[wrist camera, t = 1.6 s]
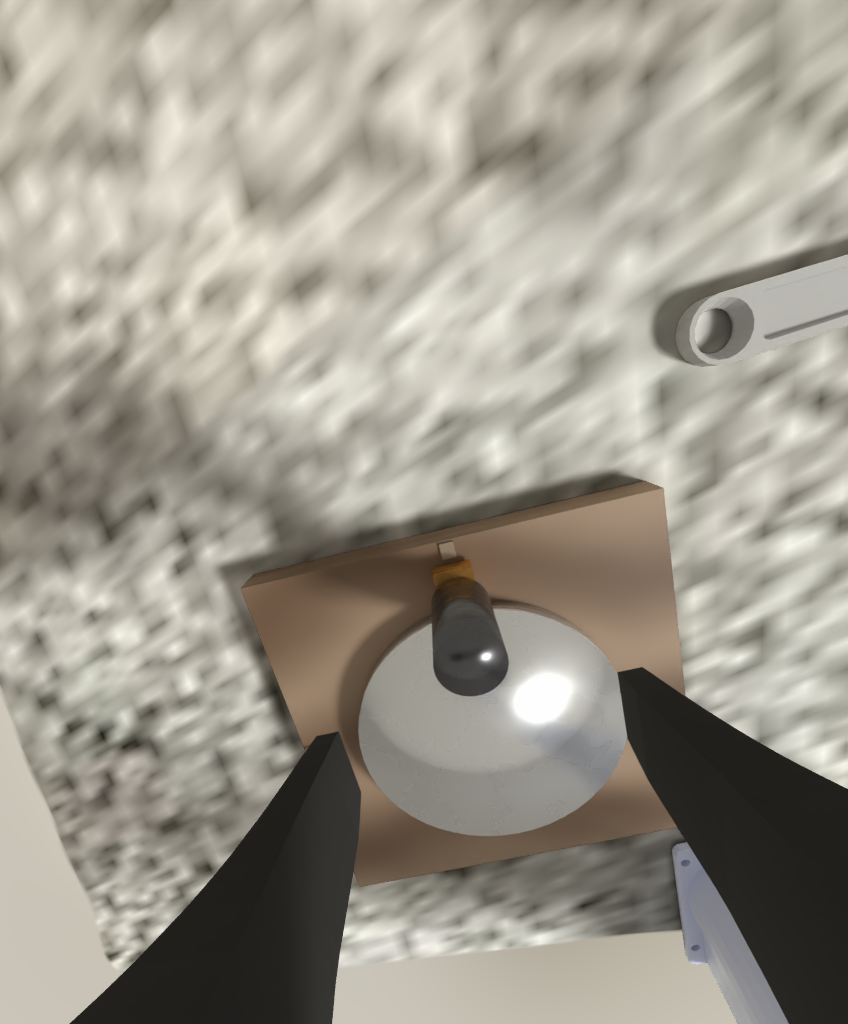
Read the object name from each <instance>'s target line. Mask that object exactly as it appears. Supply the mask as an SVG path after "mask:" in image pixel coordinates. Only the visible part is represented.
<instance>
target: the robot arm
mask: <svg viewBox="0 0 848 1024" xmlns="http://www.w3.org/2000/svg"><path fill="white" fill-rule="evenodd" d="M617 673H618V680H619V686H620V693H621V699H622V706H623V712H624V719H625V726H626V732H627V739H628V741H629V743H630V745H631V747H632V749H633V751H634V753H635V755H636V757H637V759H638V761H639V763H640V765H641V767H642V769H643V771H644V773H645V775H646V777H647V779H648V781H649V783H650V784H651V786H652V788H653V789H654V791H655V792H656V794H657V796H658V797H659V799H660V800H661V802H662V804H663V805H664V807H665V808H666V810H667V812H668V813H669V815H670V816H671V818H672V820H673V821H674V823H675V824H676V826H677V828H678V829H679V831H680V832H681V834H682V835H683V837H684V839H685V840H686V842H685V843H680V844H677V845H675V846H674V847H673V849H672V855H673V863H674V871H675V878H676V886H677V894H678V901H679V909H680V916H681V924H682V932H683V939H684V947H685V954H686V956H687V958H688V960H689V962H690V963H692V964H702V963H708V965H709V967H710V969H711V971H712V973H713V975H714V977H715V979H716V981H717V983H718V985H719V987H720V989H721V991H722V993H723V995H724V997H725V999H726V1001H727V1003H728V1005H729V1007H730V1009H731V1011H732V1013H733V1015H734V1017H735V1019H736V1021H737V1023H738V1024H848V789H847V788H844V787H842V786H840V785H838V784H836V783H834V782H832V781H830V780H828V779H826V778H824V777H822V776H820V775H818V774H816V773H814V772H812V771H811V770H809V769H807V768H805V767H803V766H801V765H799V764H797V763H795V762H793V761H791V760H789V759H787V758H786V757H784V756H782V755H780V754H778V753H776V752H775V751H773V750H771V749H769V748H768V747H766V746H764V745H762V744H761V743H759V742H757V741H756V740H754V739H752V738H750V737H749V736H747V735H745V734H744V733H742V732H740V731H739V730H737V729H735V728H734V727H732V726H731V725H729V724H727V723H726V722H724V721H723V720H721V719H720V718H718V717H716V716H715V715H713V714H712V713H710V712H708V711H707V710H705V709H704V708H702V707H701V706H699V705H698V704H696V703H695V702H693V701H692V700H690V699H689V698H687V697H686V696H684V695H683V694H681V693H680V692H678V691H677V690H675V689H674V688H672V687H671V686H670V685H668V684H667V683H665V682H664V681H662V680H661V679H659V678H658V677H656V676H655V675H654V674H652V673H651V672H649V671H648V670H646V669H645V668H643V667H640V668H635V669H630V670H625V671H621V672H617ZM360 809H361V790H360V788H359V785H358V782H357V779H356V777H355V774H354V771H353V769H352V766H351V763H350V760H349V758H348V755H347V752H346V750H345V747H344V744H343V741H342V739H341V736H340V733H339V731H338V732H334V733H329V734H324V735H319V736H316V737H315V739H314V740H313V742H312V743H311V744H310V746H309V747H308V749H307V750H306V752H305V753H304V755H303V756H302V758H301V759H300V760H299V762H298V763H297V765H296V766H295V768H294V769H293V771H292V772H291V774H290V775H289V777H288V778H287V779H286V781H285V782H284V784H283V785H282V787H281V788H280V790H279V791H278V792H277V794H276V795H275V797H274V798H273V799H272V801H271V802H270V804H269V805H268V807H267V808H266V809H265V811H264V812H263V814H262V815H261V816H260V818H259V819H258V820H257V821H256V823H255V824H254V825H253V827H252V828H251V829H250V831H249V832H248V833H247V835H246V836H245V837H244V839H243V840H242V841H241V843H240V844H239V845H238V846H237V848H236V849H235V850H234V852H233V853H232V854H231V856H230V857H229V858H228V859H227V861H226V862H225V863H224V864H223V866H222V867H221V868H220V869H219V870H218V872H217V873H216V874H215V875H214V876H213V878H212V879H211V880H210V881H209V882H208V883H207V885H206V886H205V887H204V888H203V889H202V890H201V891H200V893H199V894H198V895H197V896H196V897H195V898H194V899H193V901H192V902H191V903H190V904H189V905H188V906H187V907H186V908H185V910H184V911H183V912H182V913H181V914H180V915H179V916H178V917H177V918H176V919H175V920H174V921H173V922H172V923H171V924H170V925H169V927H168V928H167V929H166V930H165V931H164V932H163V933H162V934H161V935H160V936H159V937H158V938H157V939H156V940H155V941H154V942H153V943H152V944H151V945H150V946H149V947H148V948H147V950H146V951H145V952H144V953H143V954H142V955H141V956H140V957H139V958H138V959H137V960H136V961H135V962H134V963H133V964H132V965H131V966H130V967H129V968H128V969H127V970H126V971H125V972H124V973H123V974H122V975H121V976H120V977H119V978H118V979H117V980H116V981H115V982H114V983H112V984H111V985H110V986H109V987H108V988H107V989H106V990H105V991H104V992H103V993H102V994H101V995H100V996H99V997H98V998H97V999H96V1000H95V1001H94V1002H92V1003H91V1004H90V1005H89V1006H88V1007H87V1008H86V1009H85V1010H84V1011H83V1012H82V1013H81V1014H80V1015H78V1016H77V1017H76V1018H75V1019H74V1020H73V1021H72V1022H71V1023H70V1024H332V1017H333V1006H334V995H335V984H336V976H337V969H338V962H339V954H340V948H341V942H342V936H343V930H344V924H345V918H346V912H347V907H348V901H349V895H350V889H351V883H352V877H353V871H354V865H355V858H356V852H357V846H358V839H359V826H360Z"/></svg>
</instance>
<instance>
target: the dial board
mask: <svg viewBox="0 0 848 1024" xmlns="http://www.w3.org/2000/svg"><path fill="white" fill-rule="evenodd" d="M469 559H470V562H471V566H472V570H473V574H474V578H475V581H477V582H478V583H480V584H481V585H482V586H483V587H484V588H485V589H486V591H487V593H488V595H489V598H490V601H497V600H498V601H512V602H519V603H524V604H529V605H534V606H537V607H540V608H543V609H546V610H549V611H551V612H554V613H556V614H558V615H560V616H562V617H564V618H566V619H567V620H569V621H570V622H572V623H573V624H575V625H576V626H578V627H579V628H580V629H582V630H583V631H584V632H585V633H586V634H587V635H588V636H590V637H591V638H592V640H593V641H594V642H595V643H596V644H597V645H598V647H599V648H600V649H601V650H602V652H603V653H604V655H605V656H606V657H607V659H608V660H609V662H610V663H611V665H612V667H613V668H614V670H615V671H616V673H617V672H621V671H625V670H630V669H635V668H640V667H643V668H645V669H646V670H648V671H649V672H651V673H652V674H654V675H655V676H656V677H658V678H659V679H661V680H662V681H664V682H665V683H667V684H668V685H670V686H671V687H672V688H674V689H675V690H677V691H678V692H680V693H681V694H683V695H684V696H685V687H684V678H683V668H682V659H681V649H680V640H679V630H678V621H677V612H676V602H675V593H674V583H673V574H672V564H671V555H670V545H669V536H668V527H667V517H666V508H665V498H664V489H663V488H662V487H659V486H657V485H654V484H652V483H649V482H647V481H642V482H638V483H633V484H629V485H625V486H621V487H617V488H613V489H608V490H604V491H600V492H596V493H592V494H588V495H583V496H579V497H575V498H571V499H567V500H563V501H558V502H554V503H550V504H546V505H542V506H538V507H533V508H529V509H525V510H521V511H517V512H513V513H508V514H504V515H500V516H496V517H492V518H488V519H484V520H479V521H475V522H471V523H467V524H463V525H459V526H454V527H450V528H446V529H442V530H438V531H434V532H429V533H425V534H421V535H417V536H413V537H409V538H404V539H400V540H396V541H392V542H388V543H384V544H379V545H375V546H371V547H367V548H363V549H359V550H354V551H350V552H346V553H342V554H338V555H334V556H329V557H325V558H321V559H317V560H313V561H309V562H304V563H300V564H296V565H292V566H288V567H284V568H279V569H275V570H271V571H267V572H263V573H259V574H254V575H253V576H252V577H251V578H250V579H249V580H248V581H247V583H246V584H245V585H244V586H243V587H242V588H241V591H242V594H243V596H244V599H245V601H246V604H247V606H248V609H249V611H250V614H251V616H252V619H253V621H254V624H255V626H256V629H257V631H258V634H259V636H260V639H261V641H262V644H263V646H264V649H265V651H266V654H267V656H268V659H269V661H270V664H271V666H272V669H273V671H274V674H275V676H276V679H277V681H278V684H279V686H280V689H281V691H282V694H283V696H284V699H285V701H286V704H287V706H288V709H289V711H290V714H291V716H292V719H293V721H294V724H295V726H296V729H297V731H298V734H299V736H300V739H301V741H302V744H303V746H304V749H305V752H306V750H307V749H308V747H309V746H310V744H311V743H312V742H313V740H314V739H315V737H316V736H319V735H324V734H329V733H334V732H338V731H339V733H340V736H341V739H342V741H343V744H344V747H345V750H346V752H347V755H348V758H349V760H350V763H351V766H352V769H353V771H354V774H355V777H356V779H357V782H358V785H359V788H360V790H361V809H360V826H359V839H358V846H357V852H356V858H355V865H354V874H355V876H356V879H357V881H358V884H359V886H360V887H362V886H367V885H373V884H378V883H383V882H389V881H394V880H399V879H405V878H410V877H415V876H421V875H426V874H431V873H437V872H442V871H447V870H453V869H458V868H463V867H469V866H474V865H479V864H485V863H490V862H495V861H501V860H506V859H511V858H517V857H522V856H527V855H533V854H538V853H543V852H549V851H554V850H559V849H565V848H570V847H575V846H581V845H586V844H591V843H597V842H602V841H607V840H613V839H618V838H623V837H629V836H634V835H640V834H645V833H650V832H656V831H661V830H666V829H672V828H677V826H676V824H675V823H674V821H673V820H672V818H671V816H670V815H669V813H668V812H667V810H666V808H665V807H664V805H663V804H662V802H661V800H660V799H659V797H658V796H657V794H656V792H655V791H654V789H653V788H652V786H651V784H650V783H649V781H648V779H647V777H646V775H645V773H644V771H643V769H642V767H641V765H640V763H639V761H638V759H637V757H636V755H635V753H634V751H633V749H632V747H631V745H630V743H629V741H628V739H626V743H625V747H624V751H623V753H622V755H621V758H620V760H619V763H618V764H617V766H616V768H615V770H614V771H613V773H612V775H611V776H610V778H609V779H608V780H607V781H606V783H605V784H604V785H603V786H602V788H601V789H600V790H599V791H598V792H597V793H596V794H595V795H594V796H593V797H592V798H591V799H590V800H588V801H587V802H586V803H584V804H583V805H582V806H581V807H579V808H578V809H577V810H575V811H573V812H572V813H570V814H568V815H567V816H565V817H563V818H561V819H559V820H557V821H555V822H553V823H551V824H548V825H545V826H543V827H540V828H537V829H534V830H530V831H526V832H522V833H517V834H510V835H502V836H475V835H466V834H459V833H454V832H450V831H446V830H443V829H439V828H436V827H434V826H431V825H429V824H426V823H424V822H422V821H420V820H418V819H416V818H414V817H412V816H411V815H409V814H408V813H406V812H405V811H403V810H402V809H400V808H399V807H398V806H397V805H395V804H394V803H393V802H392V801H391V800H390V799H389V798H388V797H387V796H386V795H385V794H384V793H383V792H382V791H381V789H380V788H379V787H378V786H377V784H376V783H375V781H374V780H373V778H372V776H371V775H370V773H369V771H368V769H367V766H366V764H365V762H364V759H363V756H362V752H361V749H360V743H359V734H358V728H359V715H360V710H361V705H362V700H363V695H364V690H365V686H366V683H367V681H368V678H369V675H370V673H371V671H372V669H373V667H374V666H375V664H376V662H377V660H378V659H379V657H380V656H381V655H382V654H383V652H384V651H385V650H386V648H387V647H388V646H389V645H390V644H391V643H392V642H393V641H394V640H395V639H396V638H397V637H398V636H399V635H400V634H402V633H403V632H404V631H405V630H407V629H408V628H409V627H411V626H412V625H414V624H415V623H417V622H419V621H420V620H422V619H424V618H426V617H427V616H430V615H431V600H432V597H433V594H434V592H435V591H436V587H435V583H434V579H433V573H432V568H435V567H439V566H444V565H448V564H452V563H456V562H461V561H465V560H469ZM617 675H618V673H617Z"/></svg>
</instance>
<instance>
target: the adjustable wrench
mask: <svg viewBox="0 0 848 1024" xmlns="http://www.w3.org/2000/svg"><path fill="white" fill-rule="evenodd" d="M715 308H719V309H723V310H724V311H726V312H727V314H728V315H729V316H730V319H731V322H732V333H731V336H730V339H729V341H728V343H727V344H726V346H725V347H724V348H723V349H722V350H720V351H718V352H716V353H710V354H707V353H702V352H701V351H700V350H699V349H698V347H697V344H696V341H695V327H696V324H697V320H698V318H699V316H700V315H701V314H702V313H703V312H705V311H707V310H709V309H715ZM845 326H848V254H847V255H844V256H841V257H837V258H834V259H831V260H827V261H824V262H821V263H817V264H814V265H811V266H807V267H804V268H801V269H797V270H794V271H791V272H787V273H784V274H781V275H777V276H774V277H770V278H767V279H764V280H760V281H757V282H754V283H750V284H747V285H744V286H740V287H737V288H734V289H730V290H727V291H724V292H720V293H717V294H714V295H711V296H708V297H705V298H703V299H701V300H699V301H697V302H695V303H693V304H692V305H691V306H690V307H689V308H688V309H687V310H686V311H685V312H684V313H683V315H682V317H681V318H680V320H679V322H678V325H677V328H676V332H675V343H676V346H677V349H678V352H679V354H680V355H681V356H682V358H683V359H684V360H685V361H687V362H689V363H690V364H692V365H696V366H702V367H703V366H715V365H723V364H729V363H732V362H735V361H738V360H741V359H745V358H748V357H751V356H754V355H757V354H760V353H763V352H767V351H770V350H773V349H776V348H779V347H782V346H785V345H788V344H792V343H795V342H798V341H801V340H804V339H807V338H810V337H814V336H817V335H820V334H823V333H826V332H829V331H832V330H835V329H839V328H842V327H845Z"/></svg>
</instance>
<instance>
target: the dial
mask: <svg viewBox="0 0 848 1024" xmlns="http://www.w3.org/2000/svg"><path fill="white" fill-rule="evenodd" d="M432 573H433V579H434V583H435V587H436V591H435V592H434V594H433V597H432V600H431V615H430V616H427V617H426V618H424V619H422V620H420V621H419V622H417V623H415V624H414V625H412V626H411V627H409V628H408V629H407V630H405V631H404V632H403V633H402V634H400V635H399V636H398V637H397V638H396V639H395V640H394V641H393V642H392V643H391V644H390V645H389V646H388V647H387V648H386V650H385V651H384V652H383V654H382V655H381V656H380V657H379V659H378V660H377V662H376V664H375V666H374V667H373V669H372V671H371V673H370V675H369V678H368V681H367V683H366V686H365V690H364V695H363V700H362V705H361V710H360V715H359V728H358V734H359V743H360V749H361V752H362V756H363V759H364V762H365V764H366V766H367V769H368V771H369V773H370V775H371V776H372V778H373V780H374V781H375V783H376V784H377V786H378V787H379V788H380V789H381V791H382V792H383V793H384V794H385V795H386V796H387V797H388V798H389V799H390V800H391V801H392V802H393V803H394V804H395V805H397V806H398V807H399V808H400V809H402V810H403V811H405V812H406V813H408V814H409V815H411V816H412V817H414V818H416V819H418V820H420V821H422V822H424V823H426V824H429V825H431V826H434V827H436V828H439V829H443V830H446V831H450V832H454V833H459V834H466V835H475V836H502V835H510V834H517V833H522V832H526V831H530V830H534V829H537V828H540V827H543V826H545V825H548V824H551V823H553V822H555V821H557V820H559V819H561V818H563V817H565V816H567V815H568V814H570V813H572V812H573V811H575V810H577V809H578V808H579V807H581V806H582V805H583V804H584V803H586V802H587V801H588V800H590V799H591V798H592V797H593V796H594V795H595V794H596V793H597V792H598V791H599V790H600V789H601V788H602V786H603V785H604V784H605V783H606V781H607V780H608V779H609V778H610V776H611V775H612V773H613V771H614V770H615V768H616V766H617V764H618V763H619V760H620V758H621V755H622V753H623V751H624V747H625V743H626V739H627V732H626V726H625V719H624V712H623V706H622V699H621V693H620V686H619V680H618V675H617V673H616V671H615V670H614V668H613V667H612V665H611V663H610V662H609V660H608V659H607V657H606V656H605V655H604V653H603V652H602V650H601V649H600V648H599V647H598V645H597V644H596V643H595V642H594V641H593V640H592V638H591V637H590V636H588V635H587V634H586V633H585V632H584V631H583V630H582V629H580V628H579V627H578V626H576V625H575V624H573V623H572V622H570V621H569V620H567V619H566V618H564V617H562V616H560V615H558V614H556V613H554V612H551V611H549V610H546V609H543V608H540V607H537V606H534V605H529V604H524V603H519V602H512V601H498V600H497V601H490V598H489V595H488V593H487V591H486V589H485V588H484V587H483V586H482V585H481V584H480V583H478V582H477V581H475V578H474V574H473V570H472V566H471V562H470V559H469V560H465V561H461V562H456V563H452V564H448V565H444V566H439V567H435V568H432Z"/></svg>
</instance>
